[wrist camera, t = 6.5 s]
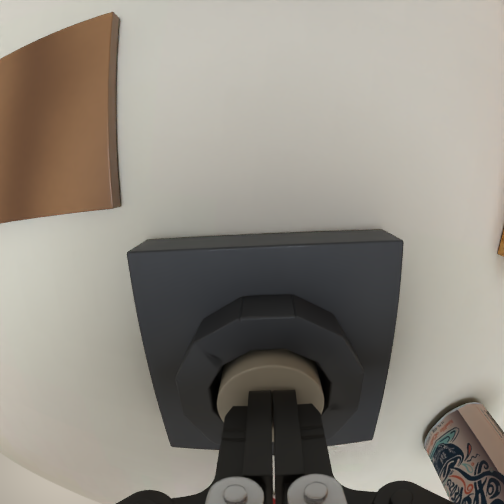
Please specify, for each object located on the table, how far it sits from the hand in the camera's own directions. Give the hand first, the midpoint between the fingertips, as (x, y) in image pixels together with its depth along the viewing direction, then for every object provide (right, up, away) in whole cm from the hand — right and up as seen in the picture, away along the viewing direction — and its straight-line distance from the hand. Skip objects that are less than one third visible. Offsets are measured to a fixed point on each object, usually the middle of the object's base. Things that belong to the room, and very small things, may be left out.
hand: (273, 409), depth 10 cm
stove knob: (0, +1, +2) cm, 2 cm away
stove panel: (0, +1, +4) cm, 5 cm away
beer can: (+12, -6, +6) cm, 15 cm away
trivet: (-12, +11, +2) cm, 16 cm away
